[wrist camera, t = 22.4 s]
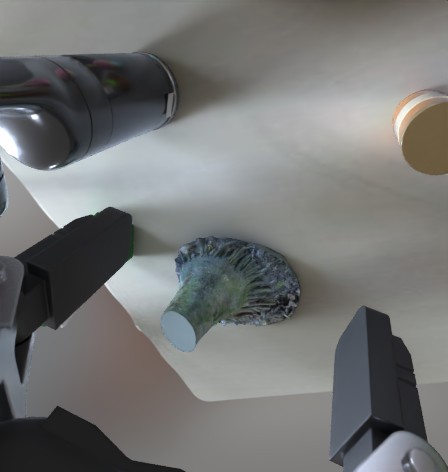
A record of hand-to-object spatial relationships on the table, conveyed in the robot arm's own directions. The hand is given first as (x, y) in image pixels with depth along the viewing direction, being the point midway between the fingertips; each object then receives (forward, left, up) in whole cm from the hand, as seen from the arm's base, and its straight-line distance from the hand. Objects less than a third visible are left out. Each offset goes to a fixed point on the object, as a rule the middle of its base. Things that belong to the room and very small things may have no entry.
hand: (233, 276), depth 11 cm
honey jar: (+10, -4, -33) cm, 35 cm away
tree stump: (-19, -21, -33) cm, 44 cm away
